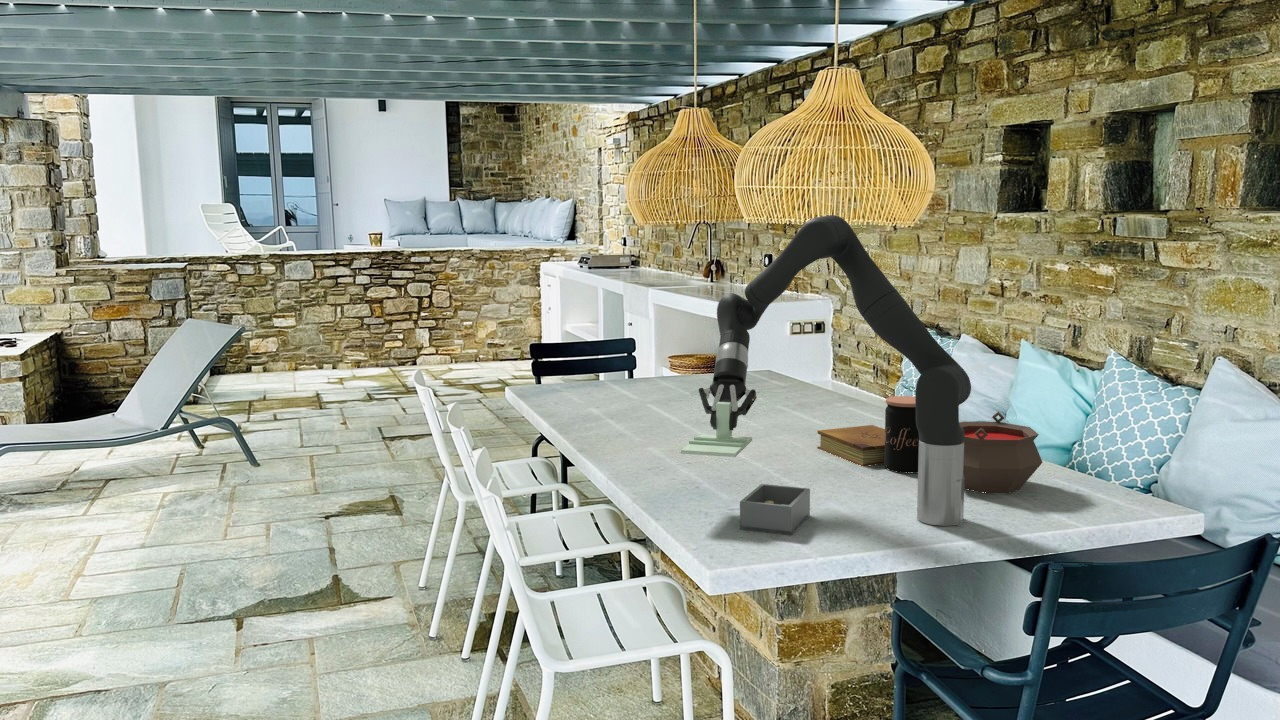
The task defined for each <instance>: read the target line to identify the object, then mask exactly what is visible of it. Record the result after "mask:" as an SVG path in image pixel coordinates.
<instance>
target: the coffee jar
mask: <svg viewBox="0 0 1280 720" xmlns="http://www.w3.org/2000/svg"><path fill="white" fill-rule="evenodd" d="M885 403H886V405H887V406H886V407H885V411H884V413H885V414H884V415H885V416H884V418H885V419H884V420H885V421H884V429H885V460H884V464H883V465H884V466H885V468H886V469H887V468H888V469H889V471H891V470H893V471H892V472H894V471H897V472H896V473H899V472H907V473H906V474H909V473H908V472H918V456H919V432H918V429H917V426H916V406H915V396H913V395H908V396H907V395H896V396H890V397H886V398H885ZM888 469H887V470H888Z"/></svg>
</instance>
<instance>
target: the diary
mask: <svg viewBox="0 0 1280 720" xmlns="http://www.w3.org/2000/svg"><path fill="white" fill-rule="evenodd" d="M816 434H818V435H819V436H820V446H817V447H816V448H817V449H819V450H820V449H821V451H822V452H825V451H826V452H825V453H828V454H830V453H831V455H832V454H833V456H835V455H836V457H837V456H838V457H837V458H840V457H841V458H840V459H842V458H843V460H845V459H846V460H845V461H847V460H848V462H850V461H851V462H850V463H852V462H853V463H852V464H854V463H855V465H857V464H858V465H857V466H859V465H861V466H860V467H862V466H865V467H869V466H868V465H873V466H876V465H875V464H882V463H884V460H885V428H883V427H879V426H877V425H873V424H869V425H859V426H850V427H849V426H848V427H841V428H840V427H839V428H830V429H829V428H828V429H819V430H817V433H816ZM882 465H883V464H882Z"/></svg>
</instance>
